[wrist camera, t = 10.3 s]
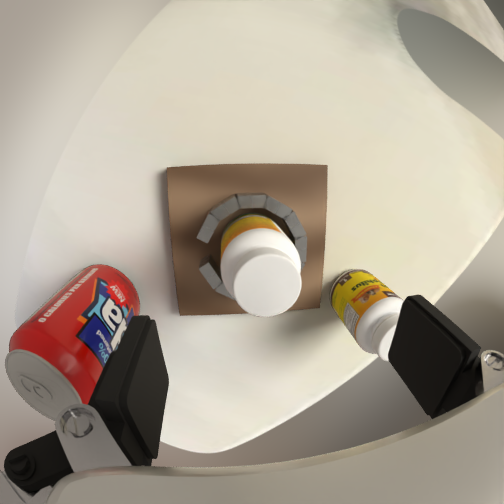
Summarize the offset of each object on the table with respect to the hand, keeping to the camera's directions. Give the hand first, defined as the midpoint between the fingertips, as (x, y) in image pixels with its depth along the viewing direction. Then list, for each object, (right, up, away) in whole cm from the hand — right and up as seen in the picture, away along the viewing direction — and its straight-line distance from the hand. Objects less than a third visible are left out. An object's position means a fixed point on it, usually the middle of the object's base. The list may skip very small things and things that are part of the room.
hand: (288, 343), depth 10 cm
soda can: (-16, -1, +17) cm, 24 cm away
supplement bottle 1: (-1, +4, +16) cm, 16 cm away
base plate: (-2, +4, +17) cm, 17 cm away
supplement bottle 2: (+9, -1, +20) cm, 22 cm away
